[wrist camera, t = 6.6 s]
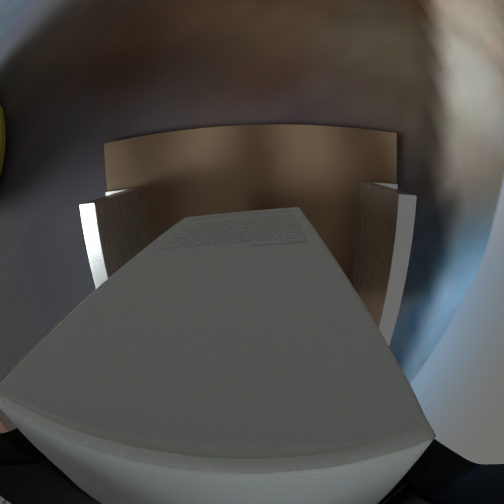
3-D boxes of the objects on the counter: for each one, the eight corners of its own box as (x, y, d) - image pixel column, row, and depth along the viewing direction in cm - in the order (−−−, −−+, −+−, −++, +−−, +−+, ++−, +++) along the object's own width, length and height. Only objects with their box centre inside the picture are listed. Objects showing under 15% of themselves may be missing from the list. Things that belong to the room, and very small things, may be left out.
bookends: (131, 314, 20) (98, 360, 15) (108, 191, 17) (54, 208, 11) (378, 313, 19) (408, 362, 14) (394, 183, 16) (446, 198, 10)
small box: (306, 332, 16) (336, 542, 4) (207, 338, 17) (150, 533, 5) (302, 202, 14) (452, 437, 2) (182, 213, 14) (-20, 391, 2)
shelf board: (143, 342, 22) (140, 347, 22) (109, 143, 17) (104, 143, 16) (368, 342, 21) (371, 347, 21) (391, 133, 16) (396, 133, 15)
